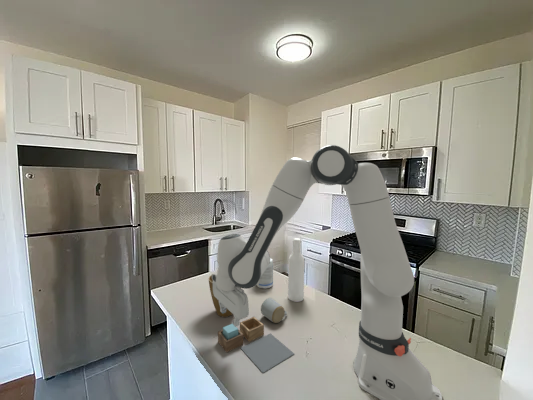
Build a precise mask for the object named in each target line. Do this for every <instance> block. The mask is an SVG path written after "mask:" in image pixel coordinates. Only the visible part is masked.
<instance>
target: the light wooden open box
mask: <svg viewBox="0 0 533 400" xmlns="http://www.w3.org/2000/svg"><path fill="white" fill-rule="evenodd" d="M239 330H240V331H241V332H242V333H243V338H245V339H246V341H248V342H249V343H251V342H253V340H254V341H255V340H257V339H259V338H261V337H263V336H264V335H265V325H264V323H262V322H261V321H260V320H259V319H257V318H256V317H255V316H252V317H249V318H248V319H245V320H242V321H241V322H240V321H239Z"/></svg>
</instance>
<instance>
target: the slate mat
mask: <svg viewBox="0 0 533 400" xmlns="http://www.w3.org/2000/svg"><path fill="white" fill-rule="evenodd" d="M277 338H278V337H275V336H274V335H273V334H272V333H268V334H266V335H265V336H264V335H263V336H261V337H259V338H257V339H255V340H254V341H251V342H249V343H248V344H245V345H242V346H240V350H242V352H243V353H244V354H245V355H246V356H247V358H248V359H249V360H250V361H251V362H252V363H253V365H255V366H256V368H257V369H258V370H259V371H260V372H261V373H262V374H265V373H267V372H268V371H270V370H271V369H273V368H274V367H276V366H278V365H280V364H281V363H283V362H285V361H286V360H288V359H289V358H291V357H293V356H294V355H295V353H294V352H293V351H292V350H291V349H290V348H289V347H288V346H286V345H285V343H283V342H281V341H280V340H279V339H277Z"/></svg>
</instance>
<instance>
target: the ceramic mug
mask: <svg viewBox="0 0 533 400" xmlns="http://www.w3.org/2000/svg"><path fill="white" fill-rule="evenodd" d="M260 313H261V314H262V316H264V317H265V318H266V319H268V320H269V321H271V322H272V323H274V324H278V323H280V322H282V321H283V319H284V318H285V317H287V315H288V312H287V311H286V310H285V308H284V306H283V305H281V304H280V303H279V302H277V301H276V300H275V299H274V298H272V297H268V298H266V299H264V301H262V303H261V306H260Z"/></svg>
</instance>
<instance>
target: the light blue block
mask: <svg viewBox="0 0 533 400" xmlns="http://www.w3.org/2000/svg"><path fill="white" fill-rule="evenodd" d="M238 329H239V328H238V326H236V327H235V326H234V325H233V323H231V324H228V325H225V326H223V327H222V330H223V336H224V337H225V338H226V339H227V340H229V339H231V338H233V337H236V336H238Z"/></svg>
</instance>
